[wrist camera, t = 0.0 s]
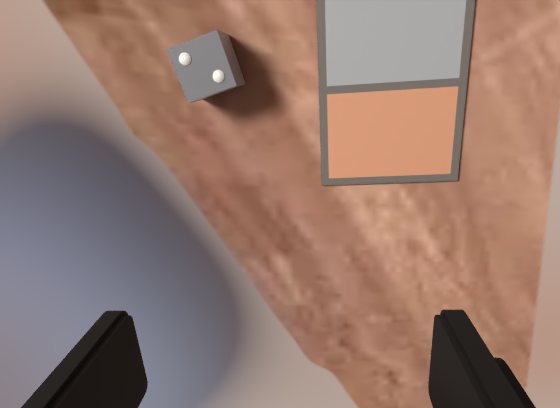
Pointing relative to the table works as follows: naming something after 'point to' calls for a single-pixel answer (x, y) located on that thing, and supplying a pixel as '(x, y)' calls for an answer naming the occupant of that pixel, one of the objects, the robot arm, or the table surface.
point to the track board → (392, 89)
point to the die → (206, 66)
